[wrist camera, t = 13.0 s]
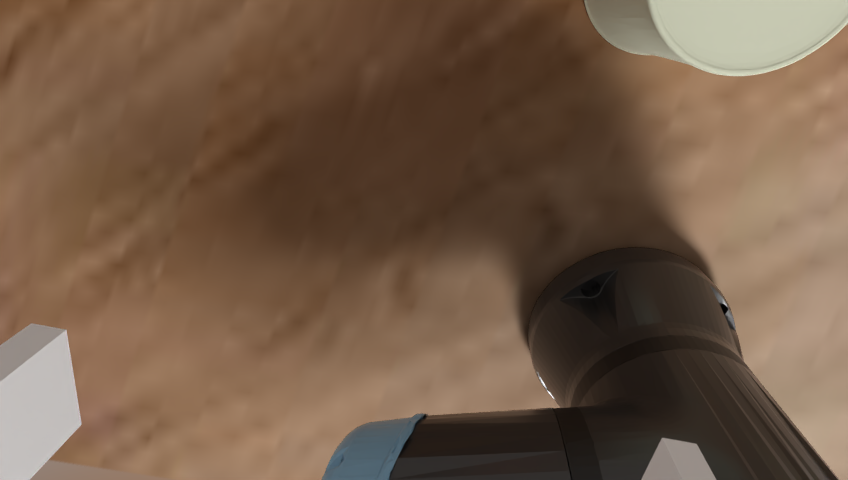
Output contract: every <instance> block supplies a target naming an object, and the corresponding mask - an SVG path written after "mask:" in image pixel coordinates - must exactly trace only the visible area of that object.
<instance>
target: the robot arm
mask: <svg viewBox="0 0 848 480" xmlns="http://www.w3.org/2000/svg"><path fill="white" fill-rule="evenodd" d="M528 342H529V348H530V353H531V358H532V362H533V366H534V369H535V372H536V374H537V376H538V378H539V380H540V382H541V384H542V385H543V387H544V388H545V389H546V390H547V392H548V393H549V394H550V395H551V396H552V397H553V398H554V399H555V401H556V402H557V403H558V405H559V406H560V408H543V409H527V410H511V411H495V412H479V413H463V414H447V415H431V416H428V414H418V413H417V414H416V415H414V416H413V417H411V418H403V419H394V420H385V421H377V422H370V423H366V424H363V425H361V426H359V427H357V428H356V429H354V430H353V431H351V432H350V433H349V434H348V435H347V436H346V437H345V438H344V439H343V441H342V442H341V443H340V445H339V446H338V447H337V449H336V450H335V452H334V454H333V456H332V457H331V459H330V462H329V464H328V466H327V468H326V471H325V474H324V476H323V477H322V480H839V479H838V478H837V476H836V475H835V474H834V473H833V471H832V470H831V469H830V468H829V467H828V465H827V464H826V463H825V462H824V460H823V459H822V458H821V457H820V455H819V454H818V453H817V452H816V450H815V449H814V448H813V447H812V446H811V444H810V443H809V442H808V441H807V439H806V438H805V437H804V436H803V434H802V433H801V432H800V431H799V429H798V428H797V427H796V426H795V425H794V423H793V422H792V421H791V420H790V418H789V417H788V416H787V415H786V413H785V412H784V411H783V410H782V408H781V407H780V406H779V405H778V404H777V402H776V401H775V400H774V399H773V397H772V396H771V395H770V394H769V392H768V391H767V390H766V389H765V388H764V386H763V385H762V384H761V383H760V381H759V380H758V379H757V378H756V377H755V375H754V374H753V373H752V371H751V370H750V369H749V368H748V366H747V365H746V364H745V363H744V360H743V356H742V351H741V347H740V343H739V339H738V336H737V333H736V330H735V323H734V319H733V315H732V312H731V309H730V307H729V305H728V303H727V301H726V299H725V298H724V296H723V295H722V293H721V292H720V290H719V289H718V288H717V287H716V286H715V285H714V284H713V282H712V281H711V280H710V279H709V278H708V277H707V276H706V275H705V274H704V273H703V272H702V271H701V270H700V269H699V268H698V267H696V266H695V265H694V264H692V263H691V262H689V261H687V260H686V259H684V258H682V257H679V256H677V255H675V254H672V253H669V252H665V251H661V250H657V249H650V248H623V249H616V250H610V251H606V252H602V253H599V254H596V255H593V256H591V257H588V258H586V259H584V260H582V261H580V262H578V263H576V264H574V265H573V266H571V267H569V268H568V269H566V270H565V271H564V272H562V273H561V274H560V275H559V276H557V277H556V278H555V279H554V280H553V281H552V282H551V283H550V284H549V285H548V286H547V288H546V289H545V290H544V291H543V293H542V294H541V296H540V297H539V299H538V300H537V302H536V304H535V306H534V309H533V311H532V314H531V317H530V321H529V327H528ZM80 425H81V418H80V412H79V405H78V399H77V393H76V387H75V381H74V374H73V368H72V362H71V356H70V350H69V343H68V337H67V331H66V330H65V329H59V328H54V327H48V326H43V325H37V324H32V323H31V324H30V325H28V326H27V327H26V328H24V329H23V330H21V331H20V332H19V333H17V334H16V335H14V336H13V337H11V338H10V339H9V340H7V341H6V342H4V343H3V344H2V345H0V480H30V479H31V478H32V477H33V476H34V474H35V473H36V472H37V471H38V470H39V469H40V468H41V467H42V466H43V465H44V464H45V463H46V462H47V461H48V460H49V459H50V457H51V456H52V455H53V454H54V453H55V452H56V451H57V450H58V449H59V448H60V447H61V446H62V445H63V444H64V443H65V441H66V440H67V439H68V438H69V437H70V436H71V435H72V434H73V433H74V432H75V431H76V430H77V429H78V428H79V427H80Z"/></svg>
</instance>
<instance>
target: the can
mask: <svg viewBox="0 0 848 480" xmlns="http://www.w3.org/2000/svg"><path fill="white" fill-rule="evenodd" d="M584 3H585V7H586V10H587V13H588V16H589V18H590V20H591V22H592V24H593V25H594V27H595V28H596V30H597V31H598V32H599V34H600V35H601V36H602V37H603V38H604V39H605V40H607V41H608V42H609V43H610V44H612V45H613V46H615V47H617V48H619V49H621V50H623V51H626V52H629V53H633V54H639V55H655V56H659V57H663V58H667V59H671V60H675V61H678V62H682V63H685V64H689V65H692V66H694V67H696V68H698V69H700V70H703V71H706V72H709V73H713V74H718V75H725V76H748V75H756V74H761V73H766V72H770V71H773V70H776V69H779V68H782V67H785V66H787V65H790V64H792V63H794V62H796V61H798V60H800V59H802V58H804V57H805V56H807V55H809V54H810V53H812V52H814V51H815V50H817V49H818V48H819V47H821V46H822V45H824V44H825V43H826V42H828V41H829V40H830V39H831V38H832V37H834V36H835V35H836V34H837V33H838V32H839V31H840V30H841V29H842V28H843V27H844V26H845V25H846V24H847V23H848V0H584Z"/></svg>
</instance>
